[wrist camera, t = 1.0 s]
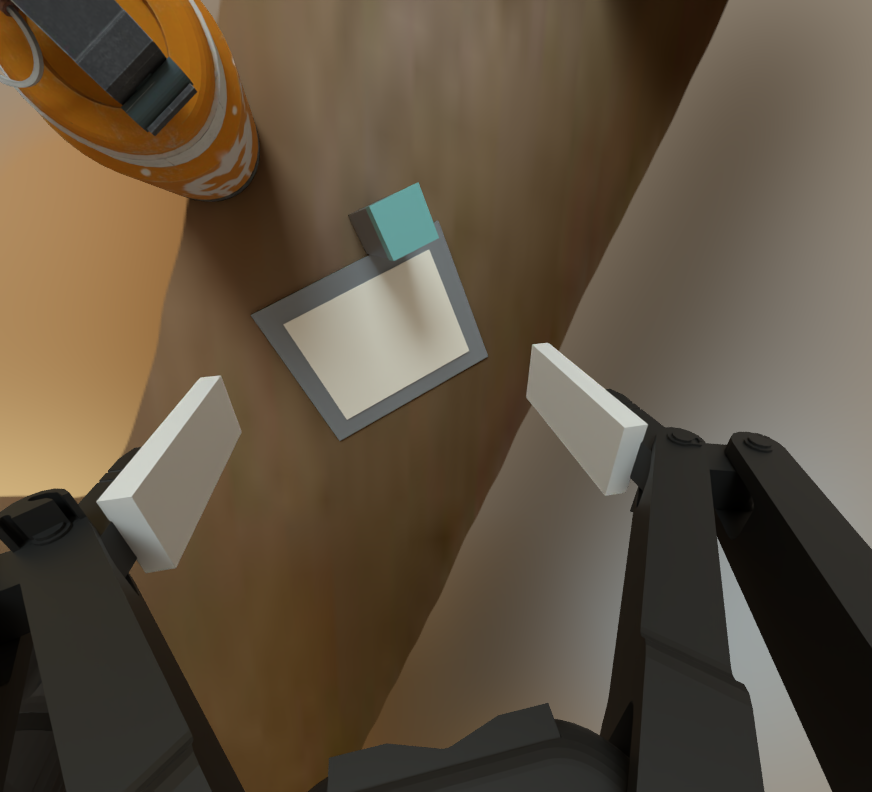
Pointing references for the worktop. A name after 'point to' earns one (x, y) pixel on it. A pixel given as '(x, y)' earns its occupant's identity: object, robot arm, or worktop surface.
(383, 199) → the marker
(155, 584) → the worktop surface
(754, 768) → the robot arm
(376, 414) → the paper
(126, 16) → the canister
